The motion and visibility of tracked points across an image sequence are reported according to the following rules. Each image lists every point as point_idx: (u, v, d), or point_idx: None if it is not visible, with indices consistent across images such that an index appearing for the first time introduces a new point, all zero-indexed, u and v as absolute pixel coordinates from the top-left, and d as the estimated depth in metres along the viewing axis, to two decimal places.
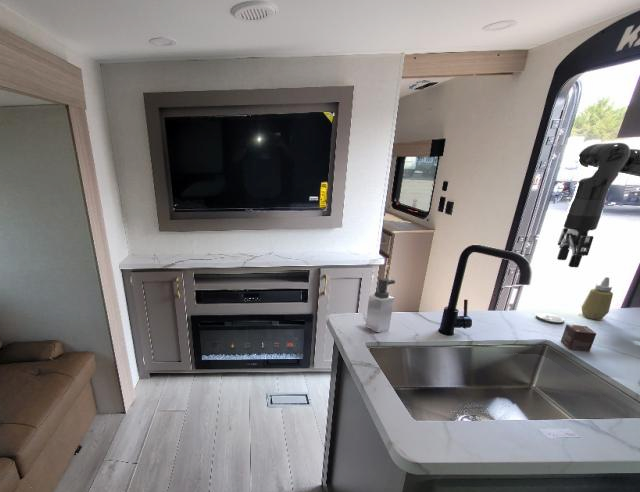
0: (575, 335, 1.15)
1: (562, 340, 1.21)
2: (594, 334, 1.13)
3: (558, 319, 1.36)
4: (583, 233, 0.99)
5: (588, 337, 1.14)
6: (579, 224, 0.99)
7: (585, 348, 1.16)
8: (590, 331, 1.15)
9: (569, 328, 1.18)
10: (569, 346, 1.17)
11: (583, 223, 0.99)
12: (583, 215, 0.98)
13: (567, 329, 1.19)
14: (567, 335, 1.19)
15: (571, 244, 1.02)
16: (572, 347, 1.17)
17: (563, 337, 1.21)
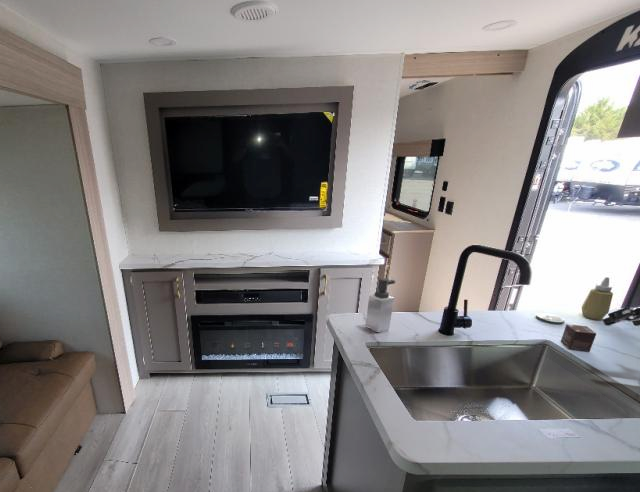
0: (575, 335, 1.15)
1: (562, 340, 1.21)
2: (594, 334, 1.13)
3: (558, 319, 1.36)
4: None
5: (588, 337, 1.14)
6: None
7: (585, 348, 1.16)
8: (590, 331, 1.15)
9: (569, 328, 1.18)
10: (569, 346, 1.17)
11: None
12: None
13: (567, 329, 1.19)
14: (567, 335, 1.19)
15: None
16: (572, 347, 1.17)
17: (563, 337, 1.21)
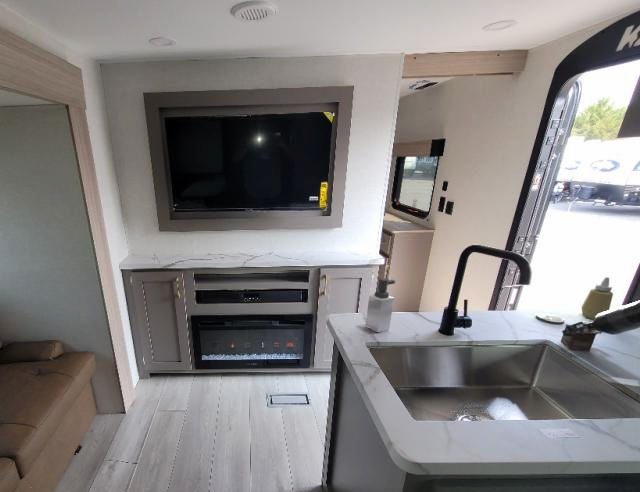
0: (575, 335, 1.15)
1: (562, 340, 1.21)
2: (594, 334, 1.13)
3: (558, 319, 1.36)
4: (592, 324, 1.09)
5: (588, 337, 1.14)
6: (598, 318, 1.07)
7: (585, 348, 1.16)
8: None
9: None
10: (569, 346, 1.17)
11: (600, 319, 1.07)
12: (606, 315, 1.05)
13: None
14: None
15: None
16: (572, 347, 1.17)
17: (563, 337, 1.21)
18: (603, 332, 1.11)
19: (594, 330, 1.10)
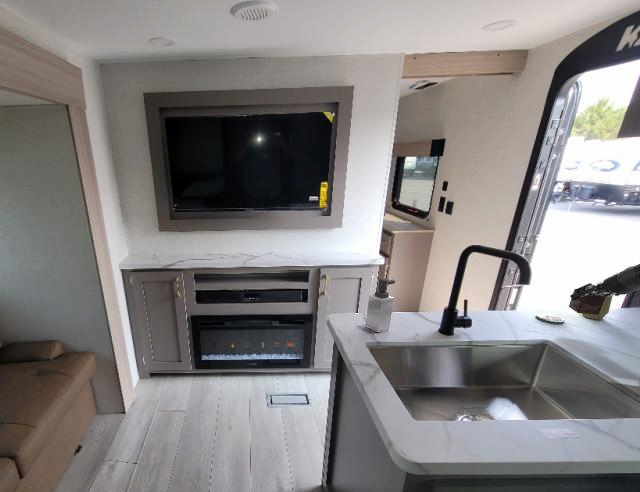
0: (583, 298, 1.13)
1: (570, 305, 1.19)
2: (603, 297, 1.11)
3: (558, 319, 1.36)
4: (601, 285, 1.07)
5: (597, 300, 1.12)
6: (608, 278, 1.05)
7: (594, 312, 1.13)
8: None
9: None
10: (577, 310, 1.15)
11: (609, 279, 1.04)
12: (616, 275, 1.03)
13: None
14: None
15: None
16: (581, 311, 1.15)
17: (571, 302, 1.19)
18: (612, 294, 1.09)
19: (603, 291, 1.08)
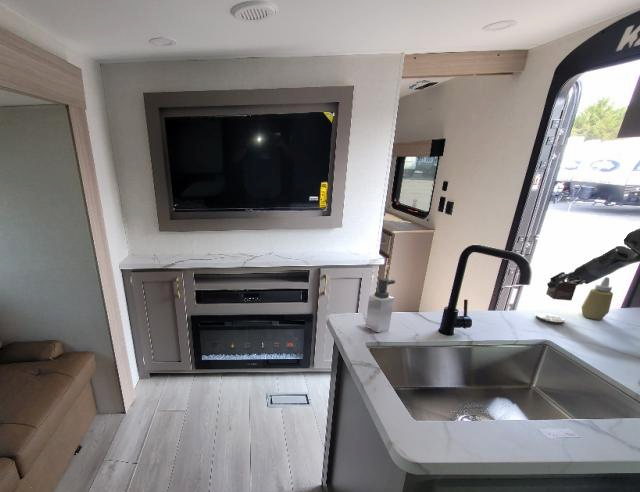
0: (558, 285, 1.29)
1: (547, 293, 1.35)
2: (575, 284, 1.27)
3: (558, 319, 1.36)
4: (572, 274, 1.23)
5: (570, 287, 1.28)
6: (578, 267, 1.21)
7: (567, 298, 1.29)
8: (571, 282, 1.28)
9: None
10: (553, 296, 1.31)
11: (579, 268, 1.21)
12: (585, 264, 1.19)
13: None
14: None
15: None
16: (556, 297, 1.31)
17: (548, 290, 1.35)
18: (583, 282, 1.25)
19: (574, 279, 1.24)
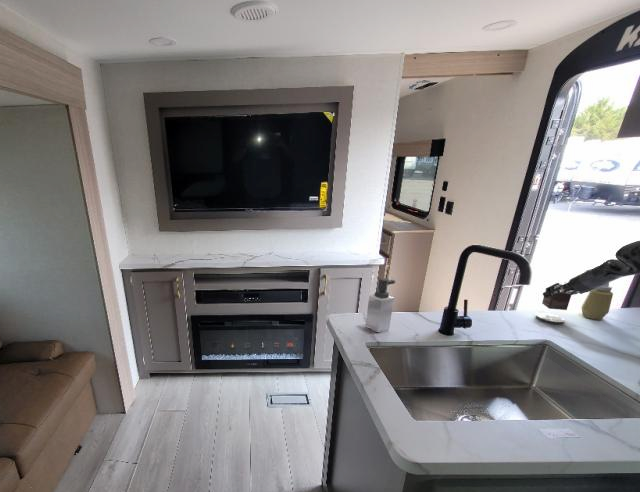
0: (553, 295, 1.32)
1: (543, 302, 1.38)
2: (570, 294, 1.30)
3: (558, 319, 1.36)
4: (567, 285, 1.26)
5: (565, 297, 1.31)
6: (572, 278, 1.24)
7: (562, 307, 1.32)
8: None
9: None
10: (549, 306, 1.34)
11: (573, 280, 1.23)
12: (578, 276, 1.21)
13: None
14: None
15: None
16: (551, 307, 1.33)
17: (544, 299, 1.37)
18: (577, 292, 1.28)
19: (569, 290, 1.27)
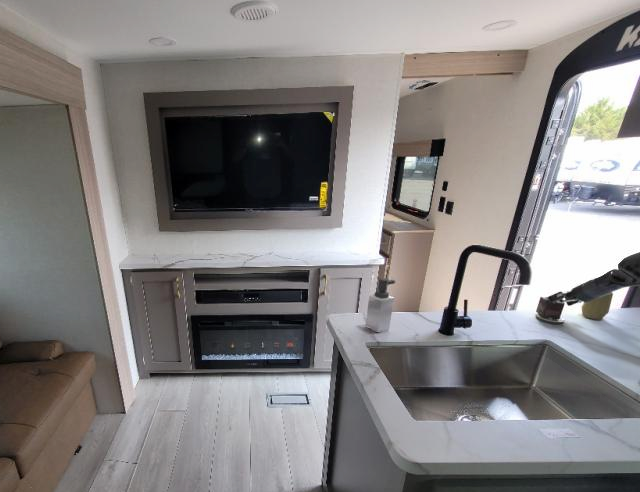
0: None
1: (537, 310, 1.42)
2: (563, 304, 1.34)
3: (558, 319, 1.36)
4: (569, 294, 1.26)
5: (558, 307, 1.35)
6: (575, 287, 1.24)
7: (555, 316, 1.36)
8: None
9: (542, 300, 1.38)
10: (542, 315, 1.38)
11: (576, 289, 1.23)
12: (581, 285, 1.21)
13: (541, 301, 1.39)
14: (541, 306, 1.39)
15: None
16: (545, 316, 1.37)
17: (538, 308, 1.41)
18: (580, 301, 1.28)
19: (571, 299, 1.27)
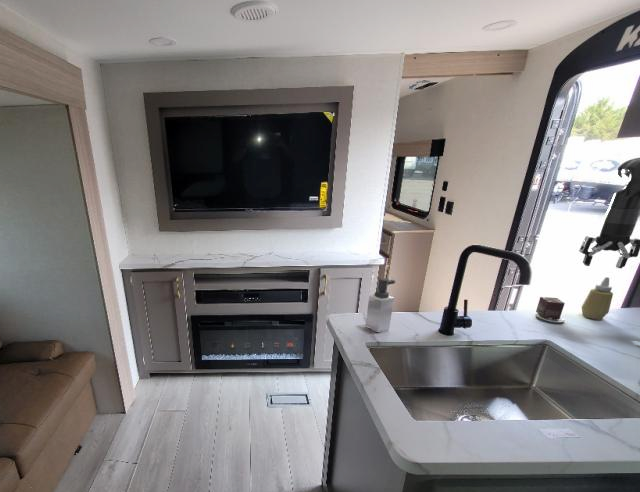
0: (547, 305, 1.36)
1: (537, 311, 1.42)
2: (563, 304, 1.34)
3: (558, 319, 1.36)
4: (599, 236, 1.14)
5: (558, 307, 1.35)
6: None
7: (555, 316, 1.36)
8: (559, 301, 1.35)
9: (542, 300, 1.38)
10: (542, 315, 1.38)
11: (601, 227, 1.13)
12: None
13: (541, 301, 1.39)
14: (541, 306, 1.39)
15: None
16: (545, 316, 1.37)
17: (538, 308, 1.41)
18: (622, 248, 1.11)
19: (605, 242, 1.12)
